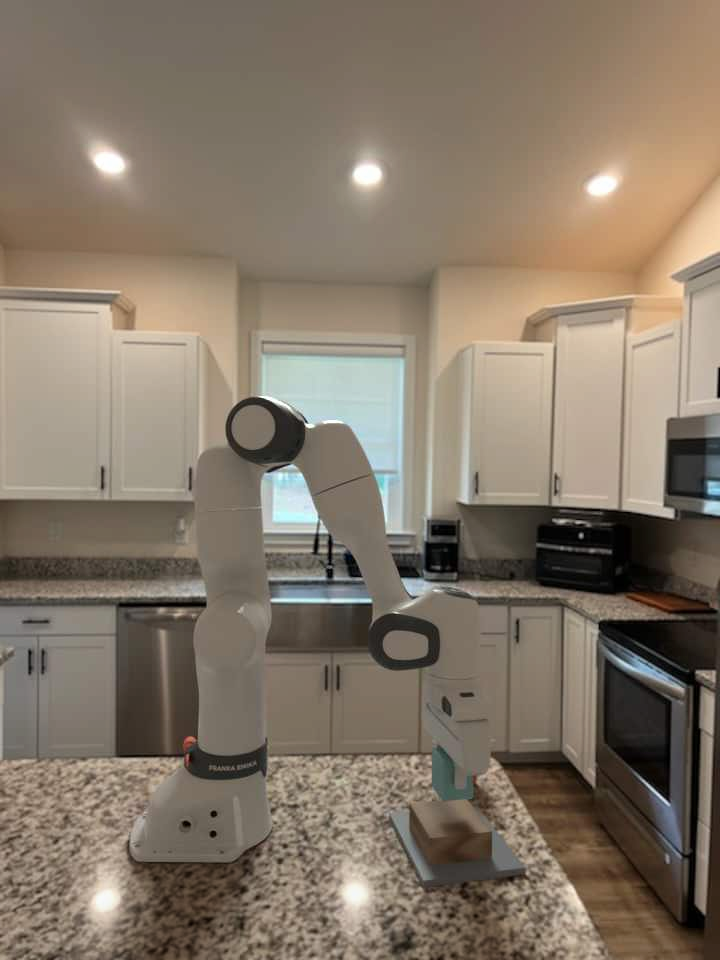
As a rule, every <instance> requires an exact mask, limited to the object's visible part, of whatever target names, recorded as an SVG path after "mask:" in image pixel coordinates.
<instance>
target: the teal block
mask: <svg viewBox="0 0 720 960" xmlns="http://www.w3.org/2000/svg"><path fill="white" fill-rule="evenodd" d="M455 769H456V767H455V766H454V761H453V760H452V759H451V758H450V757H449V755H448V754H447V753H446V752H445V751H444V749H443V748H436V747H433V748H431V787H432V788H433V790H434V791H435V793H436V795H437V796H438V797H439V799H440V800H442V801H443V802H444V801H453V800H462V799H467V800H472V799H473V798H474V784H473V776H467V785H466V788H465V789H460V790H457V789H456V788H455V787H454V785H453V784H452V774H455Z"/></svg>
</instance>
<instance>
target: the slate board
mask: <svg viewBox="0 0 720 960" xmlns="http://www.w3.org/2000/svg"><path fill="white" fill-rule="evenodd" d="M471 805H472V806H473V807H474V809H475V810H476V811H477V813H478V814H479V815H480V816H481V818H482V819H483V820H484V821H485V823H486V824H487V825H488V827H489V828H490V829H491V830H492V858H489V859H481V860H473V861H464V862H456V863H448V864H440V865H432V866H429V864H428V862H427V860H426V858H425V856H424V854H423V853H422V851H421V849H420V847H419V845H418V843H417V842H416V840H415V838H414V836H413V834H412V832H411V830H410V829H409V811H410V810H405V811H402V810H401V811H394V812H389V814H388V819H389V821H390V824H391V825H392V828H393V829H394V832H395V834H396V836H397V838H398V840H399V842H400V844H401V845H402V848H403V849H405V850H404V851H406V852H405V853H407V854H406V855H408V856H407V858H408V857H409V858H408V859H410V860H409V862H410V861H411V862H410V863H412V864H411V865H413V866H412V868H413V867H414V868H413V869H415V870H414V872H415V871H416V872H415V874H416V873H417V874H416V876H417V878H418V879H419V882H420V884H421V885H422V886H421V887H422V888H432V887H438V886H439V887H440V886H446V885H456V884H461V883H462V884H463V883H470V882H476V881H484V880H492V879H500V878H508V877H515V876H523V875H526V872H527V871H526V869H527V867H526V866H525V865H524V864H523V862H522V861H521V860H520V858H518V856H517V855H516V853H515V852H514V850H512V849H511V847H510V846H509V845H508V844H507V842H506V841H505V840H504V838H503V837H502V836H501V835H500V834H499V832H498V831H497V829H495V827H494V825H492V823H491V822H490V821H489V819H487V817H486V816H485V815H484V813H483V811H481V809H480V808H479V807H478V805H476V804H475V803H474V804H473V803H472V804H471Z"/></svg>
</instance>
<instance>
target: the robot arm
mask: <svg viewBox="0 0 720 960" xmlns="http://www.w3.org/2000/svg"><path fill="white" fill-rule="evenodd" d="M224 428H225V429H224V431H225V437H226V440H227V443H220V444H215V445H212V446H209V447H208V448H206V449H205V450H203V452H202V453H201V454H200V455H199V457H198V459H197V465H196V471H195V480H194V517H195V518H194V519H195V521H194V522H195V535H196V536H195V537H196V551H197V552H196V554H197V561H198V563H199V566H200V570H201V574H202V579H203V585H204V589H205V595H206V608H205V609H204V610H202V612H201V613H200V615H199V616H198V618H197V619H196V620H197V621H196V623H195V626H194V631H193V641H192V642H193V649H194V655H195V656H194V658H195V659H194V660H195V668H196V669H195V670H196V678H197V686H198V728H197V729H198V730H197V739H195V737H194V736H186V738H185V739H184V740H183V744H182V745H183V746H182V749H183V750H184V757H183V766H181V767H180V768H179V769H177V770H176V771H175V772H174V773H171V775H169V776H168V777H167V778H166V779H164V780H163V781H161V782H160V783H159V784H158V785H157V787H156V788H155V789H154V791H153V793H152V796H151V797H150V799H149V803H148V805H147V809H146V810H144V811H143V812H142V813H141V814H140V815H139V816H138V817H137V819H136V820H135V822H134V824H133V827H132V828H131V832H130V836H129V843H128V845H129V846H128V848H129V853H130V855H131V857H132V859H133V860H134V861H136V862H139V863H146V862H147V863H232V862H234V861H236V860H238V859H239V858H240V857H241V856H242V855H243V854H244V853H245V851H247V850H249V849H251V848H253V847H254V846H256V845H258V844H260V843H261V842H262V841H264V840H265V839H266V838H267V837H268V836H269V835H270V834H271V831H272V829H273V826H274V824H273V818H272V813H271V810H270V803H269V799H268V792H267V791H268V789H267V779H266V778H267V772H268V767H269V744H268V743H269V742H268V738H267V736H266V733H267V732H266V731H267V730H266V729H267V699H268V696H267V693H268V690H267V680H266V679H267V678H266V642H267V636H268V633H269V630H270V627H271V624H272V619H273V618H272V616H273V614H272V604H271V595H270V594H271V593H270V584H269V576H268V569H267V562H266V554H265V540H264V539H265V538H264V525H263V524H264V522H263V521H264V520H263V519H264V518H263V508H262V506H263V505H262V504H263V503H262V495H261V494H262V493H261V492H262V491H261V486H262V479H263V477H264V474H265V473H266V474H270V473H273V472H276V471H278V470H280V469H282V468H286V467H289V466H292V465H293V466H294V467H296V468H297V469H298V471H299V472H300V473H301V474H302V477H303V479H304V480H305V483H306V486H307V488H308V489H307V490H308V492H309V495H310V497H311V500H312V503H313V505H314V508H315V511H316V512H317V515H318V517H319V518H320V520H321V522H322V524H323V526H324V527H325V529H326V531H327V533H328V534H329V535H330V536H331V537H332V538H334V539H335V540H337V541H338V542H339V543H340V544H342V545H343V546H344V547H345V548H346V549H347V550H348V551H349V552H350V554H351V555H352V557H353V559H354V561H356V564H357V566H358V568H359V572H360V574H361V576H362V579H363V582H364V583H365V587H366V589H367V592H368V594H369V596H370V599H371V604H372V613H371V624H370V625H369V629H368V633H367V637H366V638H367V639H366V640H367V642H366V643H367V648H368V651H369V654H370V655H371V658H372V659H373V660H374V661H375V663H377V664H378V665H379V666H380V667H383V668H384V669H387V670H389V671H394V672H395V671H396V672H399V671H410V670H416V669H417V670H418V669H423V668H424V688H423V692H422V701H421V722H422V725H423V727H424V728H425V729H426V730H427V732H428V733H429V734H430V735H431V737H433V739H434V746H435V747H434V748H443V749H444V751H445V752H446V753H447V754H448V755H449V757H450V758H451V759H452V760H453V761H454V766H455V767H456V769H455V774H452V784H453V785H454V787H455V788H456V789H457V790H460V789H465V788H466V785H467V776H473V775H477V776H481V775H485V774H486V773H488V771H489V769H490V766H491V751H492V728H491V724H490V721H489V720H490V719H492V718H494V706H493V703H492V702H491V700H490V698H489V696H488V695H487V693H486V691H485V688H484V685H483V683H482V682H481V681H482V680H481V679H482V678H481V677H482V675H481V673H482V672H481V671H482V670H481V668H480V667H481V666H480V662H479V654H480V650H481V647H482V627H481V623H482V622H481V615H480V607H479V604H478V601H477V600H476V599H475V597H474V596H473V595H472V594H470V593H469V592H467V591H465V590H462V589H460V588H456V587H451V586H446V585H444V586H443V585H436V586H432V587H431V588H430V589H429V590H428V591H426V592H425V593H423V594H421V595H420V596H417V597H416V598H414V597H413V596H412V595H411V594H410V593H409V591H408V590H407V589H406V587H405V585H404V582H403V581H402V578H401V575H400V572H399V570H398V567H397V565H396V562H395V560H394V557H393V554H392V551H391V549H390V546H389V543H388V538H387V529H386V518H385V510H384V505H383V499H382V494H381V491H380V487H379V484H378V480H377V478H376V475H375V472H374V470H373V467H372V464H371V463H370V460H369V458H368V456H367V454H366V452H365V450H364V448H363V445H361V443H360V440H359V439H358V437H357V436H356V434H355V432H354V431H353V429H352V428H351V426H350V425H349V424H347V423H346V422H344V421H341V420H333V419H331V420H329V419H328V420H324V421H320V422H318V423H313V424H309V422H308V420H307V418H306V417H305V416H304V415H303V413H302V412H300V411H299V410H297V409H296V408H294V407H293V406H292V405H290V404H288V403H287V402H285V401H283V400H282V401H281V400H278V399H276V398H273V397H270V396H266V395H254V396H253V395H252V396H250V397H246V398H244V399H242V400H240V401H238V403H236V404H235V405H234V406H233V408H231V410H230V412H229V413H228V415H227V418H226V421H225V427H224Z"/></svg>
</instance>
